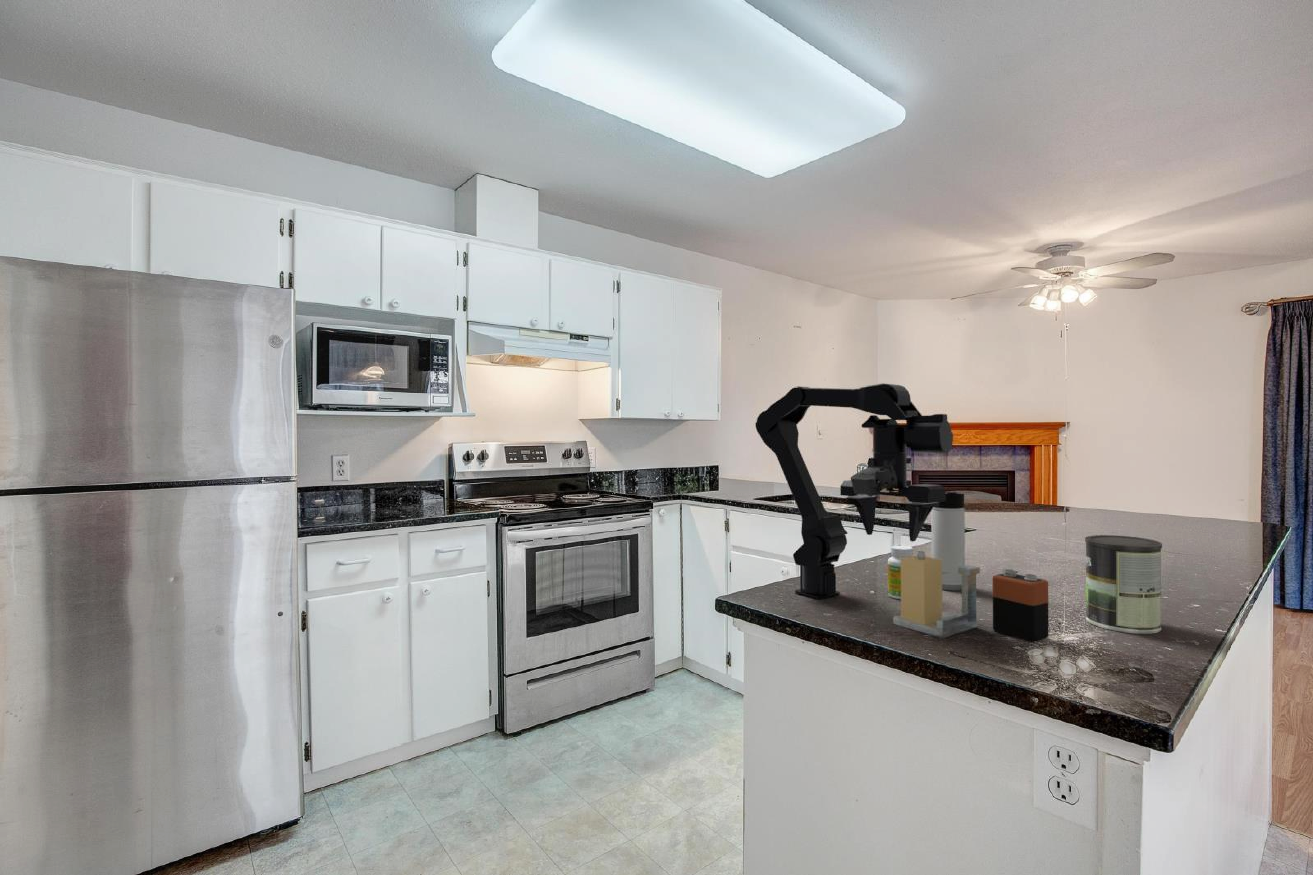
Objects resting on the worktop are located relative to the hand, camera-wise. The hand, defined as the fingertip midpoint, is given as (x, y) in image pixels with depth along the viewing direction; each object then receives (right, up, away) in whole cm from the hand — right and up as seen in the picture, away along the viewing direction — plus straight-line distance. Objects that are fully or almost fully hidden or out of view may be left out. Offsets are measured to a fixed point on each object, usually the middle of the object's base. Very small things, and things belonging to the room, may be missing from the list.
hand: (890, 537), depth 116 cm
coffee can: (+35, -13, -11) cm, 39 cm away
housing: (+1, -12, -10) cm, 16 cm away
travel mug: (+18, -13, +15) cm, 27 cm away
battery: (+15, -13, -15) cm, 25 cm away
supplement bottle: (+5, -13, +8) cm, 16 cm away
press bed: (+4, -13, -10) cm, 17 cm away
